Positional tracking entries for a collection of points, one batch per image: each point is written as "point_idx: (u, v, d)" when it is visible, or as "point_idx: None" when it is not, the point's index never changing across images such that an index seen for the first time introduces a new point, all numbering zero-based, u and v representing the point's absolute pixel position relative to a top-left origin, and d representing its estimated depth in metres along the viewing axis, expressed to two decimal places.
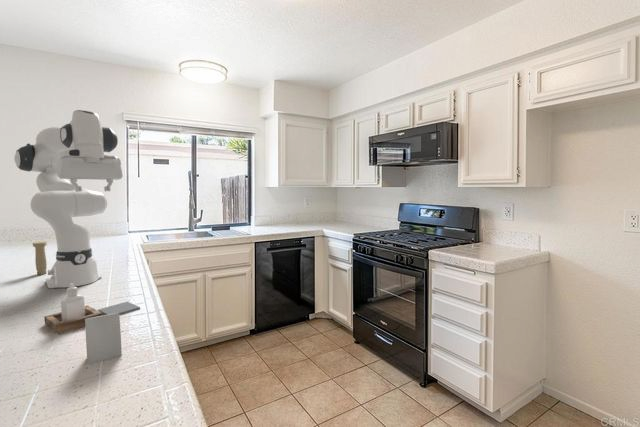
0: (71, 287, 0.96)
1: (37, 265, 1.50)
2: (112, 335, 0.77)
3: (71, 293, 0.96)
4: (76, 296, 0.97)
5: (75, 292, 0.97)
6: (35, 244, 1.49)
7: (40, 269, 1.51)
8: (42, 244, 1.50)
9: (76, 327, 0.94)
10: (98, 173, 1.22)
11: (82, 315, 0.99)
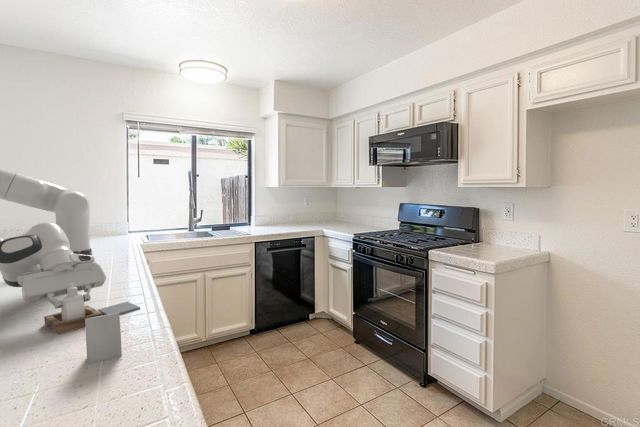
0: (71, 287, 0.96)
1: None
2: (112, 335, 0.77)
3: (71, 293, 0.96)
4: (76, 296, 0.97)
5: (75, 292, 0.97)
6: None
7: None
8: None
9: (76, 327, 0.94)
10: None
11: (82, 315, 0.99)
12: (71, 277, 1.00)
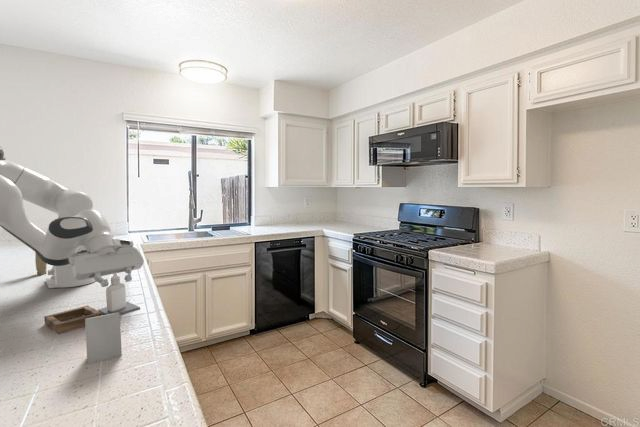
0: (115, 276, 1.06)
1: (37, 265, 1.50)
2: (112, 335, 0.78)
3: (115, 282, 1.05)
4: (119, 284, 1.06)
5: (118, 281, 1.06)
6: None
7: (40, 269, 1.51)
8: None
9: (76, 327, 0.94)
10: None
11: (124, 302, 1.08)
12: (114, 259, 1.09)
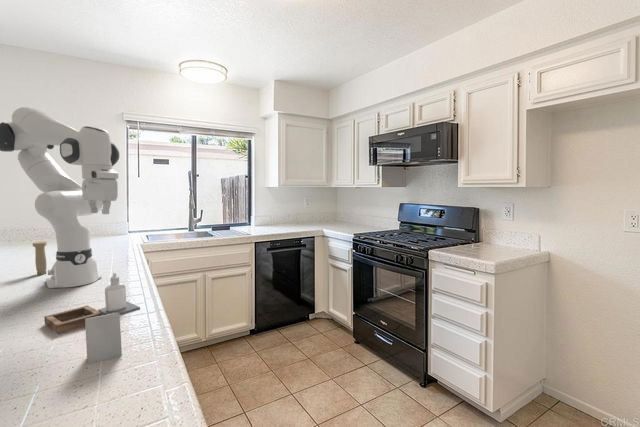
0: (113, 276, 1.06)
1: (37, 265, 1.50)
2: (112, 335, 0.78)
3: (113, 282, 1.05)
4: (117, 285, 1.06)
5: (116, 281, 1.06)
6: (35, 244, 1.49)
7: (40, 269, 1.51)
8: (42, 244, 1.50)
9: (76, 327, 0.94)
10: None
11: (123, 302, 1.07)
12: (94, 190, 1.12)
